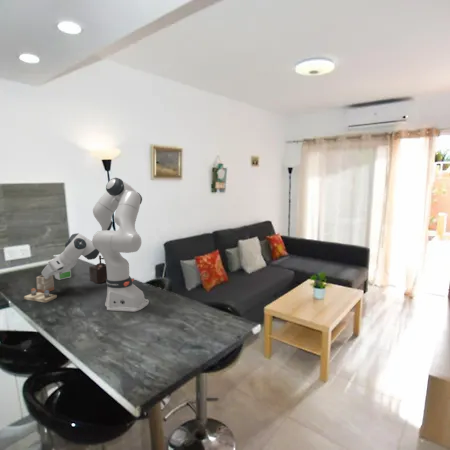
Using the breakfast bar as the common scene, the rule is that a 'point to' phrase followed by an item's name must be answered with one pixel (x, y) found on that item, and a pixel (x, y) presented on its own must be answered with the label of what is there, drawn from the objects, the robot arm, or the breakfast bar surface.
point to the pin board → (40, 296)
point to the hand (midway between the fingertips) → (53, 275)
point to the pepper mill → (98, 272)
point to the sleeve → (44, 284)
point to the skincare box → (65, 274)
